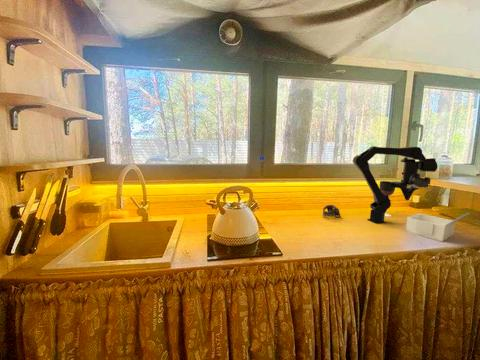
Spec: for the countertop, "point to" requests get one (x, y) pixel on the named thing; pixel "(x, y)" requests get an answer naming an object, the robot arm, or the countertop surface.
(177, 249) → the countertop surface
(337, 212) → the dark glossy dome
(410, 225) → the carton
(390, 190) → the wineglass
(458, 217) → the far flap
